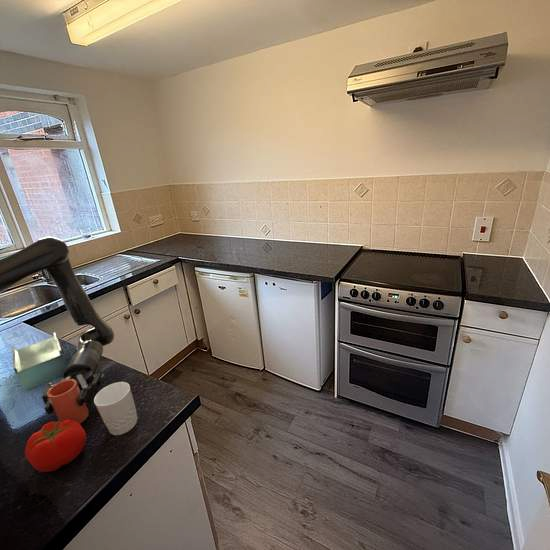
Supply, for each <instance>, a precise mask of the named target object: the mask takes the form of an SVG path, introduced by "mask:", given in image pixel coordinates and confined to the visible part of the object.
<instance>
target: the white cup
mask: <svg viewBox="0 0 550 550" xmlns="http://www.w3.org/2000/svg"><path fill="white" fill-rule="evenodd" d="M132 392H133V391H132V389H131V386H130V384H129V383H128V382H126V381H118V382H113V383H111V384H108V385H107V386H105V387H102V389H99V390H98V391H97V392H96V395H95V396H94V398H93V403H94V406H95V407H96V410H97V411H98V413H99V416H100V418H101V420H102V421H103V423H104V425H105V426H106V428H107V430H108V432H109V434H110V435H113V436H121V435H124V434H126V433H129V431H131V430H132V429H134V427H135V426H136V425H137V423H138V420H139V417H138V414H137V413H138V412H137V408H136V404H135V400H134V396H133V393H132Z"/></svg>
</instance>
